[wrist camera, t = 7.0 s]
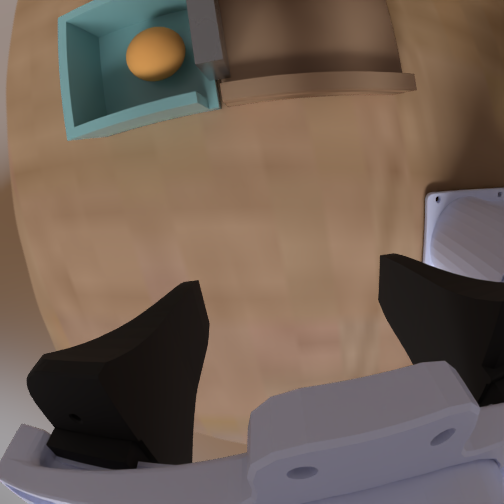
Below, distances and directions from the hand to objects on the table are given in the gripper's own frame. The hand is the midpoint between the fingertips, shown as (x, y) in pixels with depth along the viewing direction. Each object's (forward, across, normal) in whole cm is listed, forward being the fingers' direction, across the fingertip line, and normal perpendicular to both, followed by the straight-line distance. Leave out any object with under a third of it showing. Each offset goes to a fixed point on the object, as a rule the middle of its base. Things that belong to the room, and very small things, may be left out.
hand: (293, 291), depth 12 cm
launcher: (+9, -4, -12) cm, 16 cm away
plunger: (+7, +2, -12) cm, 14 cm away
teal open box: (+9, +6, -12) cm, 17 cm away
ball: (+7, +6, -12) cm, 15 cm away
